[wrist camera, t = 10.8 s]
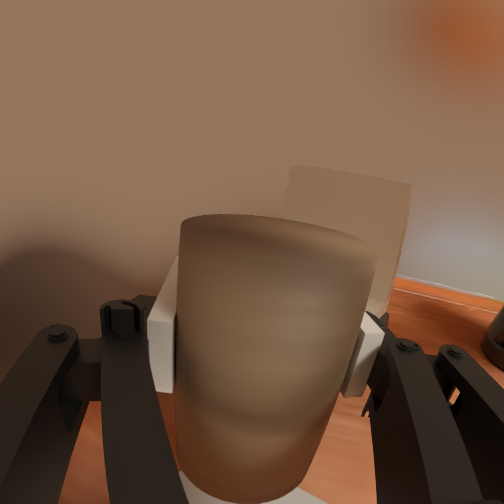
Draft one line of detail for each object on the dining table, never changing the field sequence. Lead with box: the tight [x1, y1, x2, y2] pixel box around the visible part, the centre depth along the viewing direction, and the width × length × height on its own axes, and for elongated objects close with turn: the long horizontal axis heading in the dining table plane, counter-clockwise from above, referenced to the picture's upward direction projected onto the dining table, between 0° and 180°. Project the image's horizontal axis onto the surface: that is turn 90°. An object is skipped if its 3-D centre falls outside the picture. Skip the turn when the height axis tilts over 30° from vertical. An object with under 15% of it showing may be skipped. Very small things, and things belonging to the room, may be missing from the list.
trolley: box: [282, 164, 413, 328], centre depth 28 cm, size 22×14×20 cm, turn 140°
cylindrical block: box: [175, 214, 379, 504], centre depth 11 cm, size 6×6×10 cm
